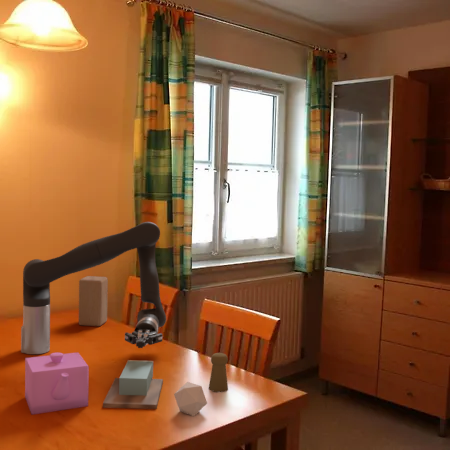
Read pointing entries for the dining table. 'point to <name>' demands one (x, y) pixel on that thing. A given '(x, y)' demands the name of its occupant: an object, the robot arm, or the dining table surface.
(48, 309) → the robot arm
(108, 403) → the board
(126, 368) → the pillar
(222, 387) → the cork
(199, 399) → the die
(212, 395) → the dining table surface
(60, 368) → the teapot
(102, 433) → the dining table surface
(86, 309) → the block
